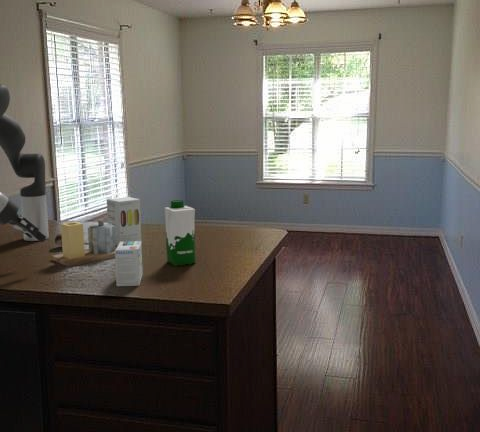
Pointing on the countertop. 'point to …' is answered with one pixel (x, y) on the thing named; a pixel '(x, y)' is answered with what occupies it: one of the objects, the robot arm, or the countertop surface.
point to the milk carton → (180, 233)
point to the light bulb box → (128, 263)
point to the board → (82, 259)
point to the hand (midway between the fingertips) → (38, 237)
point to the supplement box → (125, 218)
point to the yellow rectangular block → (72, 240)
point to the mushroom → (58, 240)
